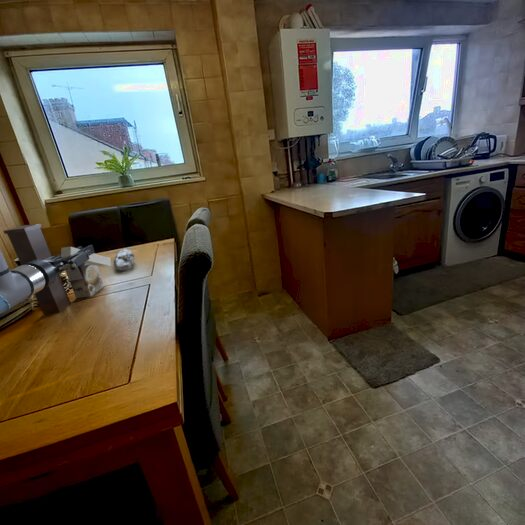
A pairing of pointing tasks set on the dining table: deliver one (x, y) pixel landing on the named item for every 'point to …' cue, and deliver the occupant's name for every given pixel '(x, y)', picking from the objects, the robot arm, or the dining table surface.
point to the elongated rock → (124, 259)
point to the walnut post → (35, 247)
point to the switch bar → (93, 260)
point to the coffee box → (85, 280)
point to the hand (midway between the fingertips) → (87, 249)
